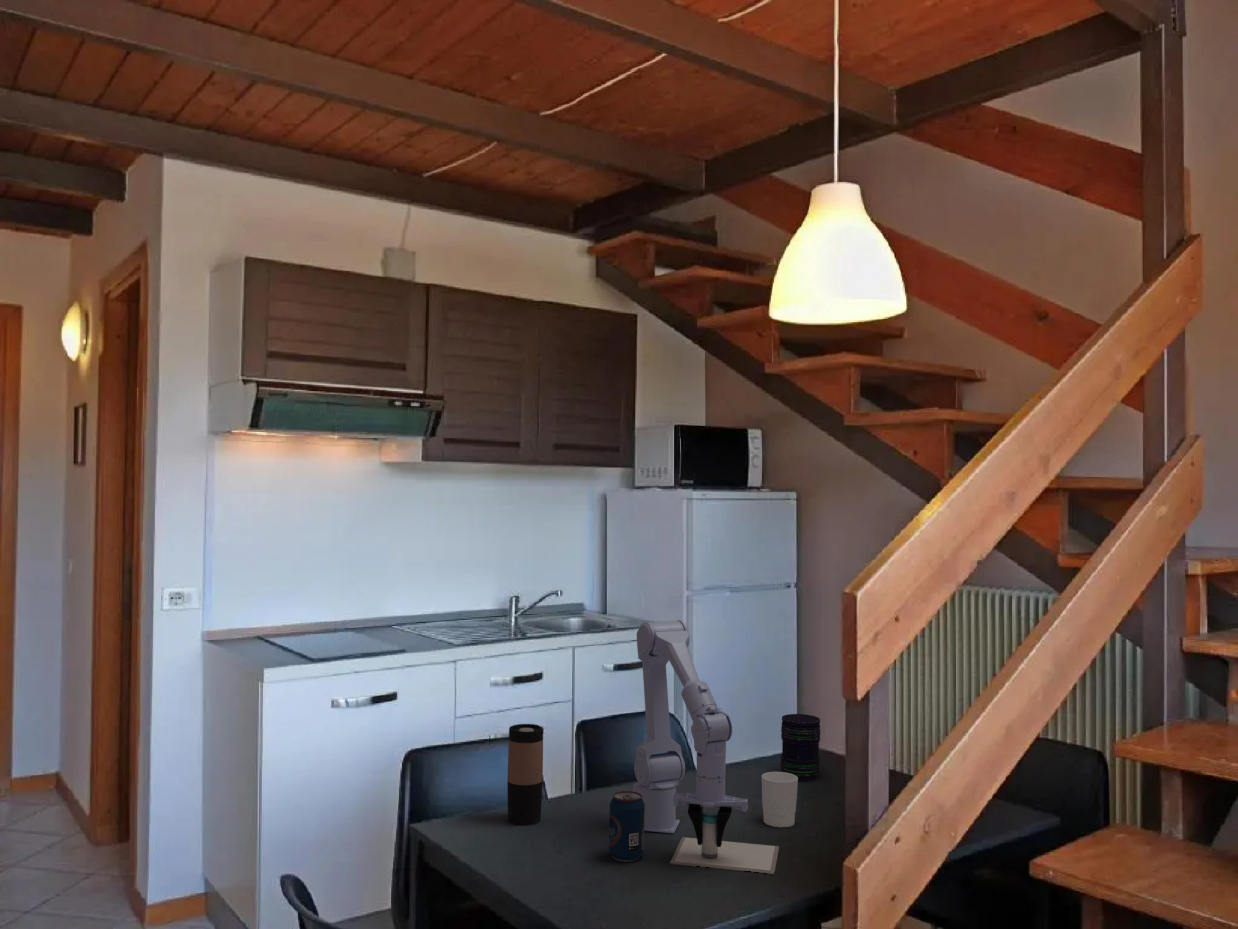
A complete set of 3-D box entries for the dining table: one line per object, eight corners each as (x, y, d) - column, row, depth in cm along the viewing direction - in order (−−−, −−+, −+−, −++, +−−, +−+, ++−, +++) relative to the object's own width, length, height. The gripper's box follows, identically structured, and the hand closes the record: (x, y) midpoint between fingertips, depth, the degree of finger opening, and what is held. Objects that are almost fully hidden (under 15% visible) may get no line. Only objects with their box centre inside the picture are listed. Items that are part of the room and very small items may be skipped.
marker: (700, 858, 195) (700, 816, 195) (702, 852, 198) (702, 811, 199) (717, 859, 195) (717, 818, 195) (718, 853, 198) (719, 813, 198)
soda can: (603, 852, 198) (604, 792, 199) (635, 848, 201) (636, 788, 201) (616, 865, 192) (618, 802, 192) (649, 860, 195) (650, 798, 195)
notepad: (669, 864, 193) (669, 861, 193) (682, 838, 208) (682, 836, 208) (774, 874, 189) (774, 872, 189) (779, 847, 203) (779, 845, 203)
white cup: (796, 830, 214) (797, 783, 214) (759, 827, 216) (760, 780, 216) (797, 818, 222) (798, 773, 222) (761, 815, 223) (762, 770, 224)
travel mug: (500, 823, 215) (502, 729, 215) (516, 812, 222) (518, 722, 222) (531, 828, 212) (533, 733, 212) (547, 817, 219) (549, 726, 220)
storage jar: (780, 781, 250) (781, 721, 250) (780, 770, 260) (781, 713, 260) (820, 784, 248) (821, 723, 249) (819, 773, 258) (820, 715, 258)
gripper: (671, 777, 195) (669, 847, 194) (745, 783, 191) (744, 855, 191) (677, 767, 201) (675, 835, 201) (749, 773, 198) (748, 842, 198)
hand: (709, 844), depth 197 cm, fingers closed on marker, 3 cm apart
